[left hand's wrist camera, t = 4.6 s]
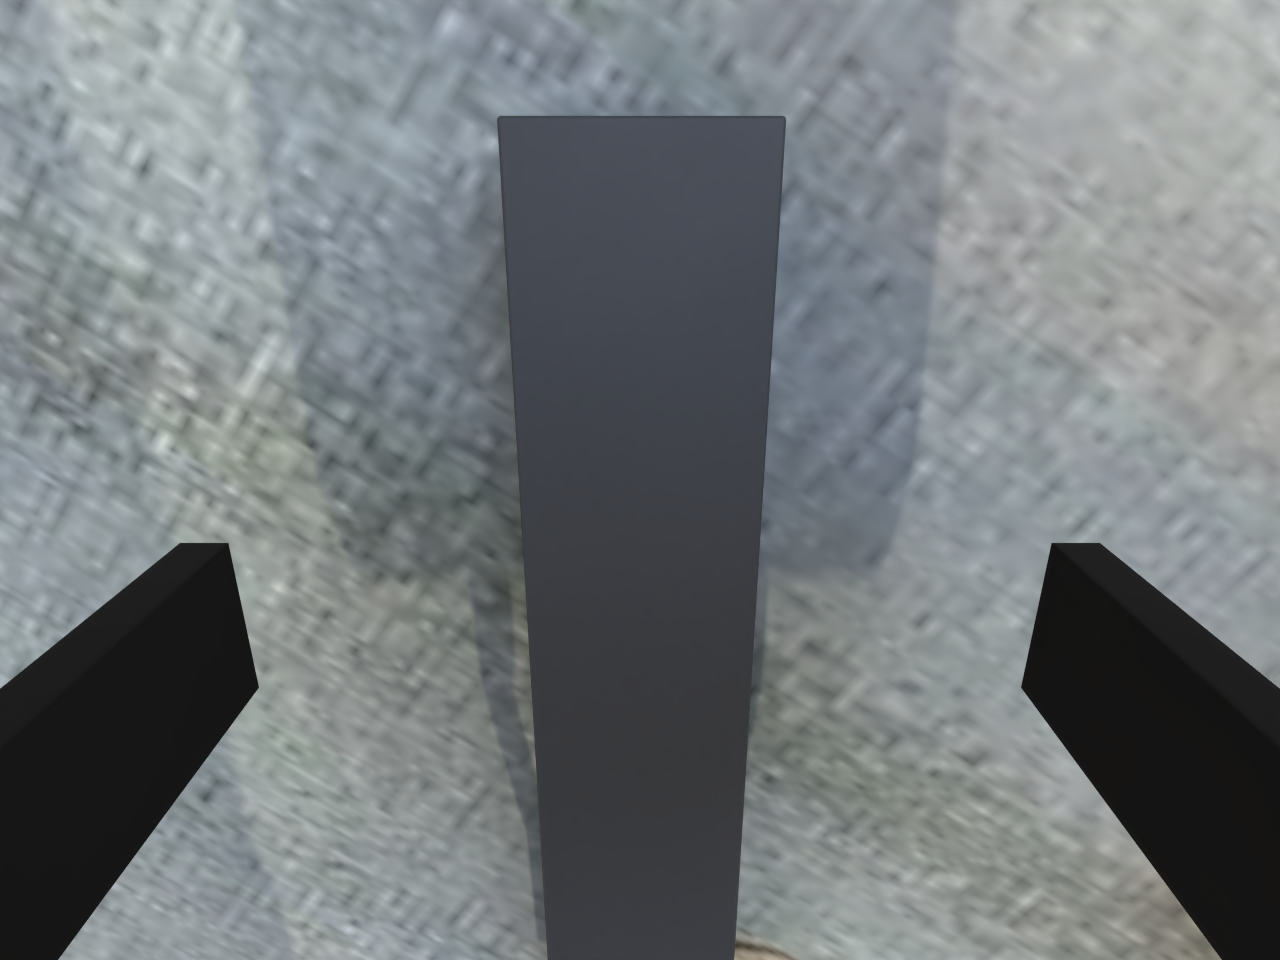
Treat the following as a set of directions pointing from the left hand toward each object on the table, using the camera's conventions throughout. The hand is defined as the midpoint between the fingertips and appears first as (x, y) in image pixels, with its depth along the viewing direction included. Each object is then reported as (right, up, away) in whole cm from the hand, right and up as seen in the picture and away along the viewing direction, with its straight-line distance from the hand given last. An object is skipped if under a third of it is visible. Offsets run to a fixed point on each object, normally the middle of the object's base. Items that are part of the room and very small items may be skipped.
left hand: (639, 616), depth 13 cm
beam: (0, -11, +19) cm, 22 cm away
